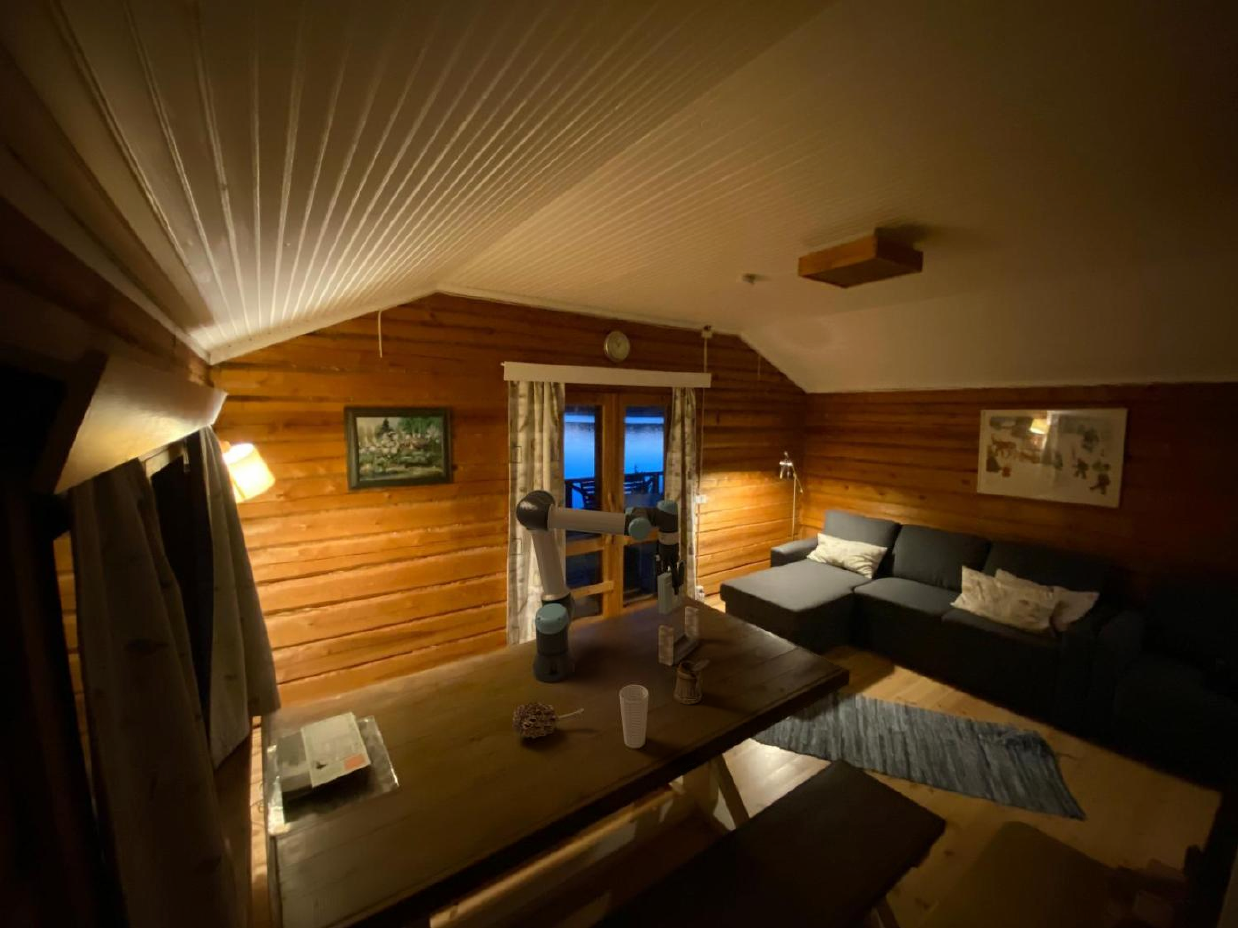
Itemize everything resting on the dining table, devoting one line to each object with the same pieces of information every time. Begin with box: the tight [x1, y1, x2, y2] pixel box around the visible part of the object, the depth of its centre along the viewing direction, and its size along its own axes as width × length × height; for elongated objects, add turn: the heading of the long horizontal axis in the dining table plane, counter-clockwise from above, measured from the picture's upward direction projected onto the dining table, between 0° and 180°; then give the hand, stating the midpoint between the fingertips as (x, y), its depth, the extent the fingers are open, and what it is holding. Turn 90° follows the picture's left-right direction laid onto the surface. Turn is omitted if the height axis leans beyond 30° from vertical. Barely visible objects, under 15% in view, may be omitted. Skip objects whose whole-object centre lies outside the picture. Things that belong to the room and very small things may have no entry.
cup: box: [619, 683, 650, 749], centre depth 148 cm, size 8×8×16 cm
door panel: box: [657, 567, 683, 616], centre depth 193 cm, size 3×12×14 cm, turn 143°
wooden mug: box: [673, 657, 710, 705], centre depth 167 cm, size 9×14×18 cm, turn 30°
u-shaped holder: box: [658, 606, 700, 667], centre depth 198 cm, size 8×22×14 cm, turn 144°
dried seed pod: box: [512, 701, 585, 739], centre depth 153 cm, size 22×10×10 cm, turn 109°
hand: (670, 601), depth 194 cm, fingers closed on door panel, 3 cm apart
